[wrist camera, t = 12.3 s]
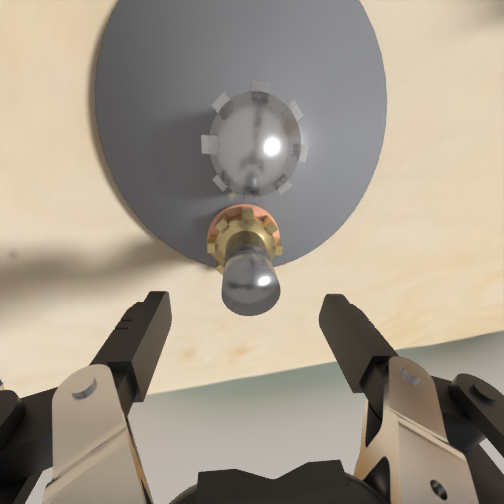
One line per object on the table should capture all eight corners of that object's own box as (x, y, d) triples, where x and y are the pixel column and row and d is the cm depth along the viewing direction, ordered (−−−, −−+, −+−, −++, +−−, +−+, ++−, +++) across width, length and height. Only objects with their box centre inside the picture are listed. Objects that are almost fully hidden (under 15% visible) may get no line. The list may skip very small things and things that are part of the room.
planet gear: (209, 204, 17) (191, 240, 10) (282, 208, 17) (316, 244, 10) (210, 269, 20) (196, 334, 12) (273, 270, 20) (295, 332, 13)
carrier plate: (58, -97, 10) (-126, -363, 5) (426, -21, 13) (564, -148, 8) (133, 262, 20) (96, 302, 15) (337, 268, 22) (371, 303, 17)
